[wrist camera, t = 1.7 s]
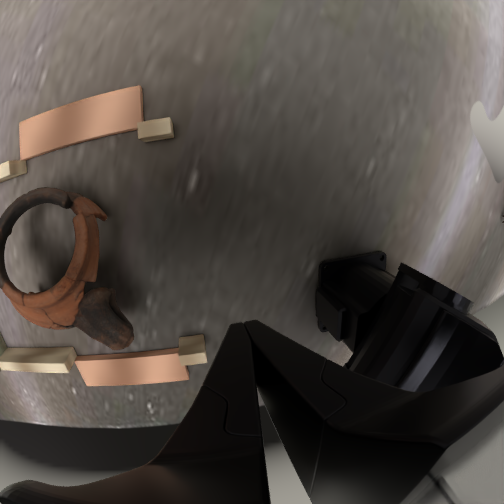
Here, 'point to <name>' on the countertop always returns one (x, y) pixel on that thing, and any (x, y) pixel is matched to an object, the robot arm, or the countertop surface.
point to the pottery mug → (69, 276)
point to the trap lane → (31, 145)
